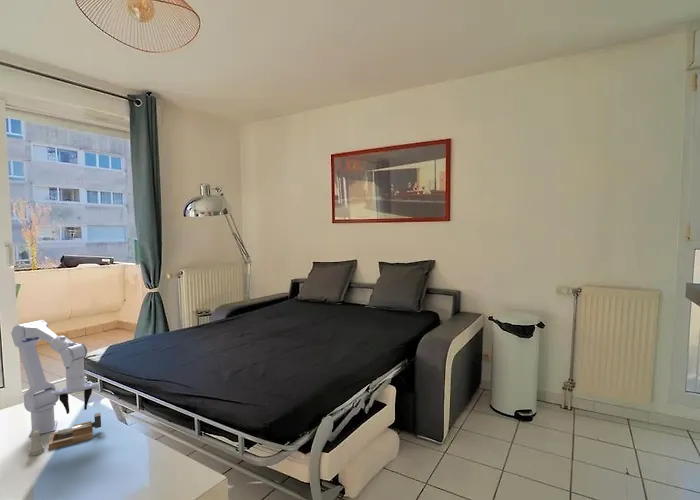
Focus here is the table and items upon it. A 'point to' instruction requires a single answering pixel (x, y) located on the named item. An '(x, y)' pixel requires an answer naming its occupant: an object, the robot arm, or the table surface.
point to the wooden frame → (78, 436)
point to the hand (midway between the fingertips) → (76, 410)
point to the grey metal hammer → (93, 424)
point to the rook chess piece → (35, 443)
